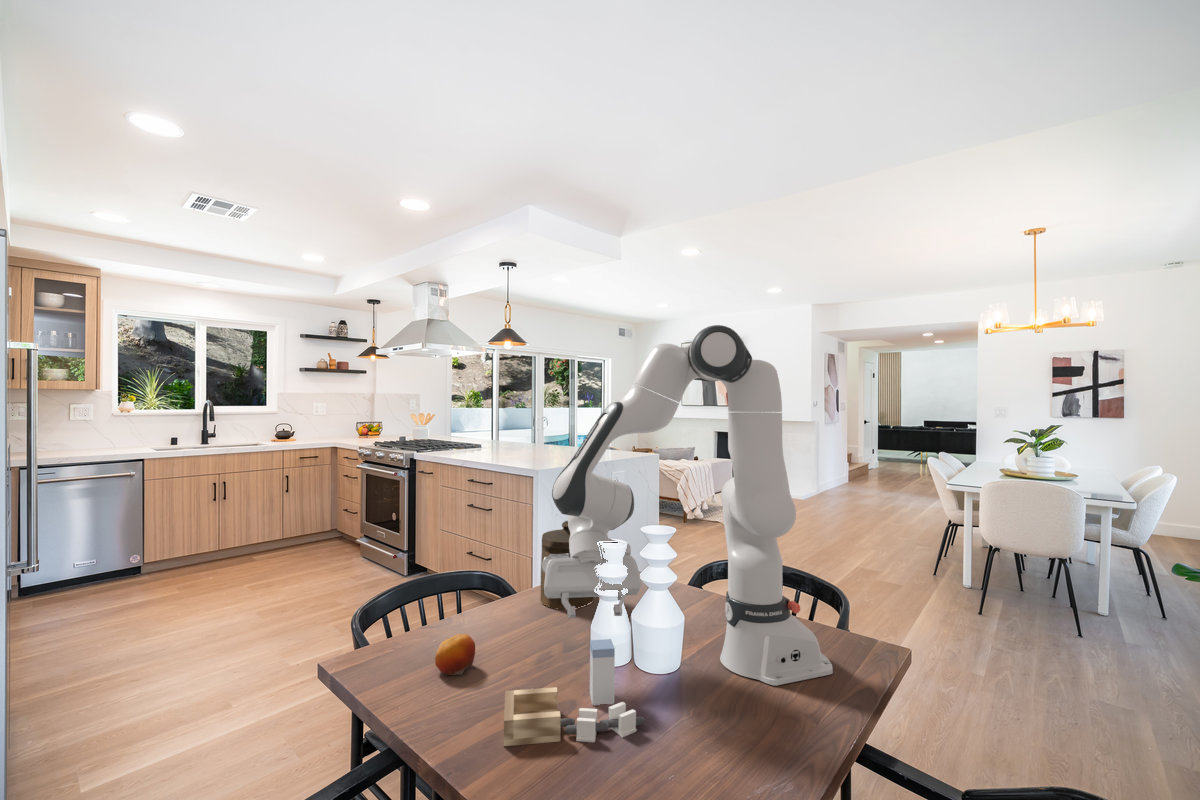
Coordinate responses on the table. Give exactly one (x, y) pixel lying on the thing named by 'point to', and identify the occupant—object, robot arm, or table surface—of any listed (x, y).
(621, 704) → the clip
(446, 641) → the fruit
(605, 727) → the cable
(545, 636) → the table surface
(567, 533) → the wooden container
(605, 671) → the block
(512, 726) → the end holder
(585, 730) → the clip
